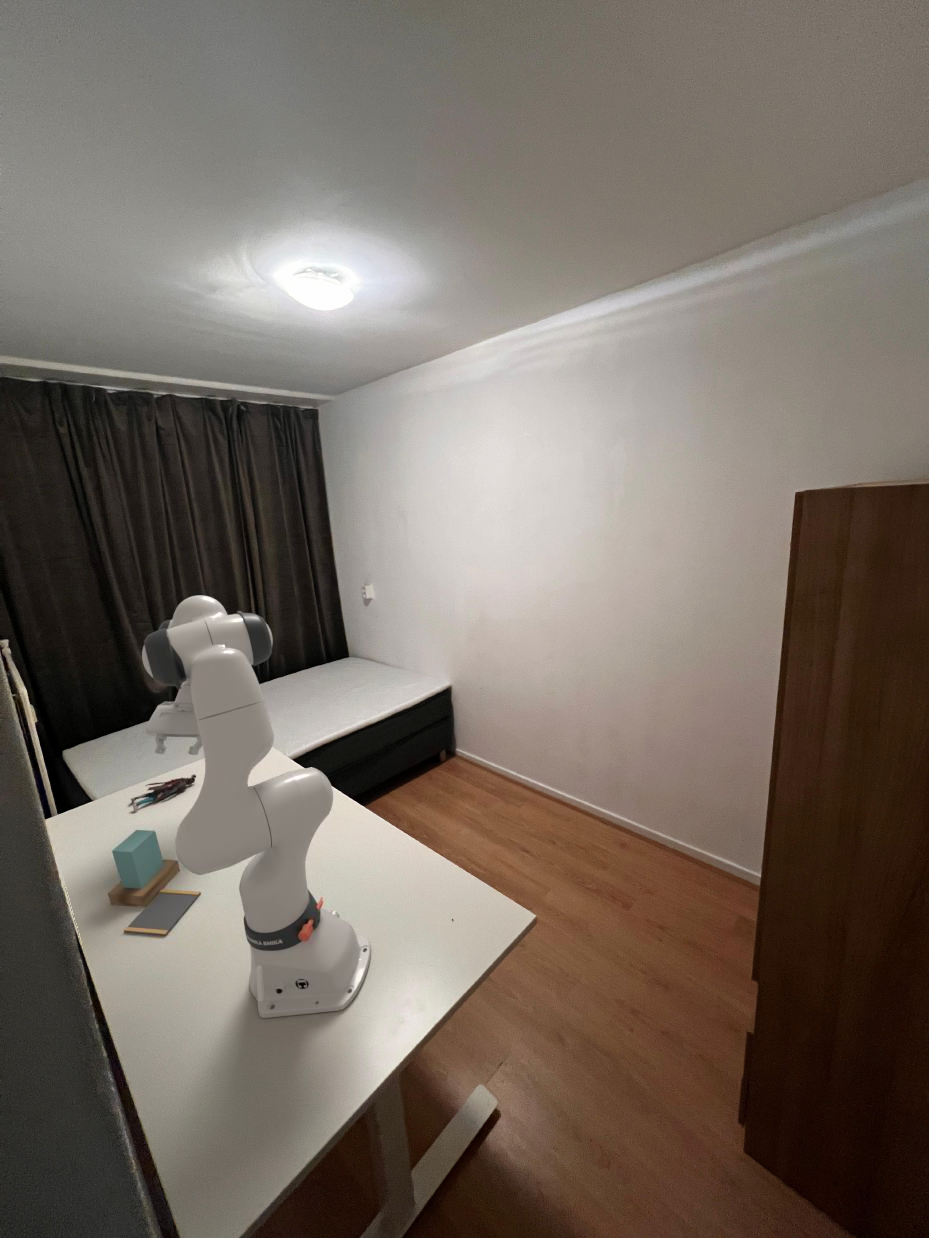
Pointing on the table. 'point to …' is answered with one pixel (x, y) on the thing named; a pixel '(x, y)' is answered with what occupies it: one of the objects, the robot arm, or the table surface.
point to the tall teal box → (138, 859)
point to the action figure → (163, 790)
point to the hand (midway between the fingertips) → (175, 753)
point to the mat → (163, 912)
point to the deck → (148, 891)
